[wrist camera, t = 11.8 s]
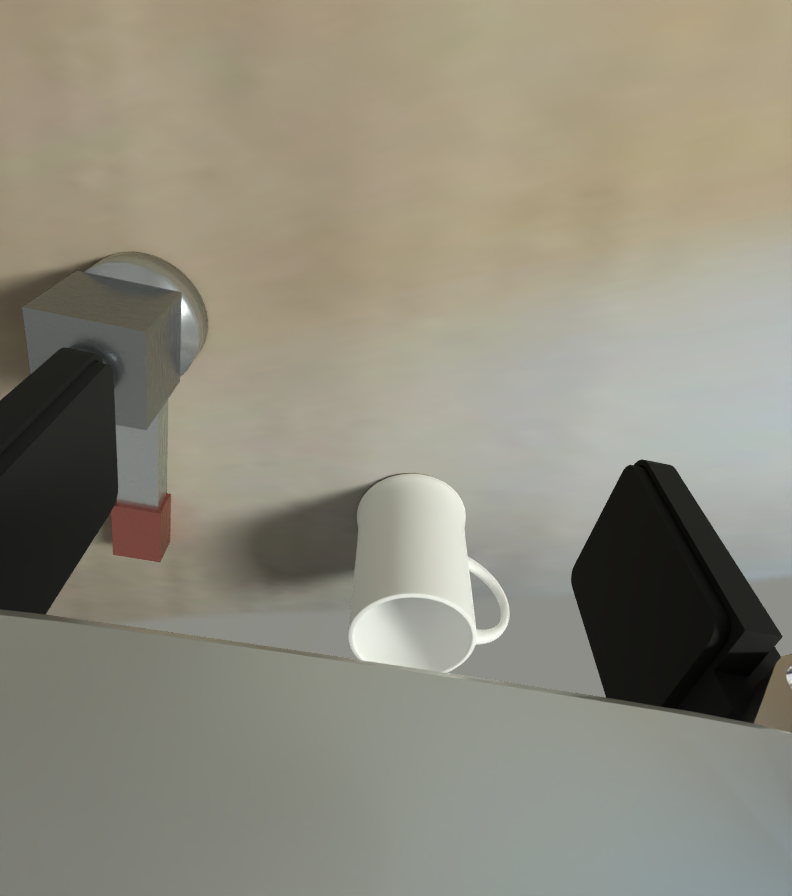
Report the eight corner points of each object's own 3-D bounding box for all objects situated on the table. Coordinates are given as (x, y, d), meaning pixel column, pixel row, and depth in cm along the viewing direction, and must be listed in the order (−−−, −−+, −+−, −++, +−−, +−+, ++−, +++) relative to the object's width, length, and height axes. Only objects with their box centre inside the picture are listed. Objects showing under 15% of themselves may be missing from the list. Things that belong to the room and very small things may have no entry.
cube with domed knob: (76, 270, 35) (11, 314, 29) (181, 292, 36) (138, 339, 30) (83, 363, 39) (25, 419, 33) (179, 381, 39) (139, 440, 33)
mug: (521, 515, 48) (551, 639, 38) (463, 583, 52) (477, 711, 42) (388, 455, 45) (383, 572, 35) (338, 532, 49) (321, 656, 39)
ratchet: (76, 238, 37) (19, 272, 31) (210, 267, 38) (178, 304, 32) (97, 529, 49) (59, 589, 44) (197, 546, 50) (171, 606, 45)
